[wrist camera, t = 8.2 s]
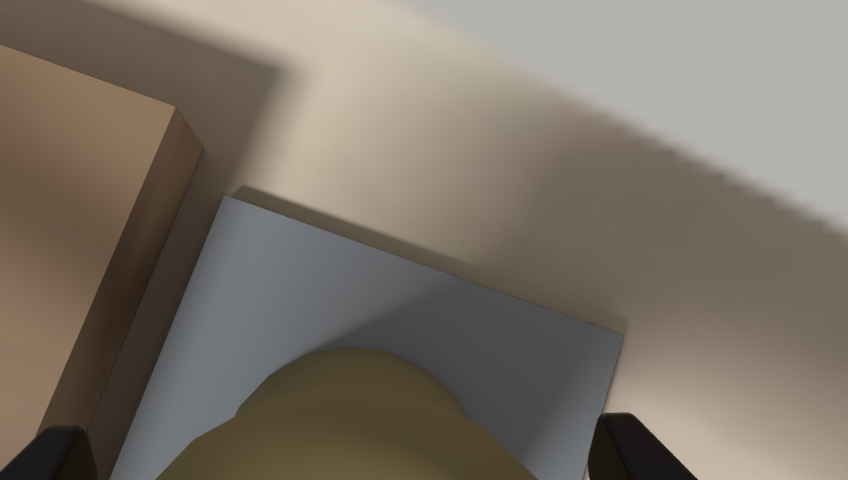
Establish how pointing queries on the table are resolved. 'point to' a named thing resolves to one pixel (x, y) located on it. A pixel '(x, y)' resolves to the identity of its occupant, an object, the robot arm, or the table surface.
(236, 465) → the olive green pawn
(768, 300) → the table surface
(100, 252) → the walnut holder block
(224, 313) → the grey mat
